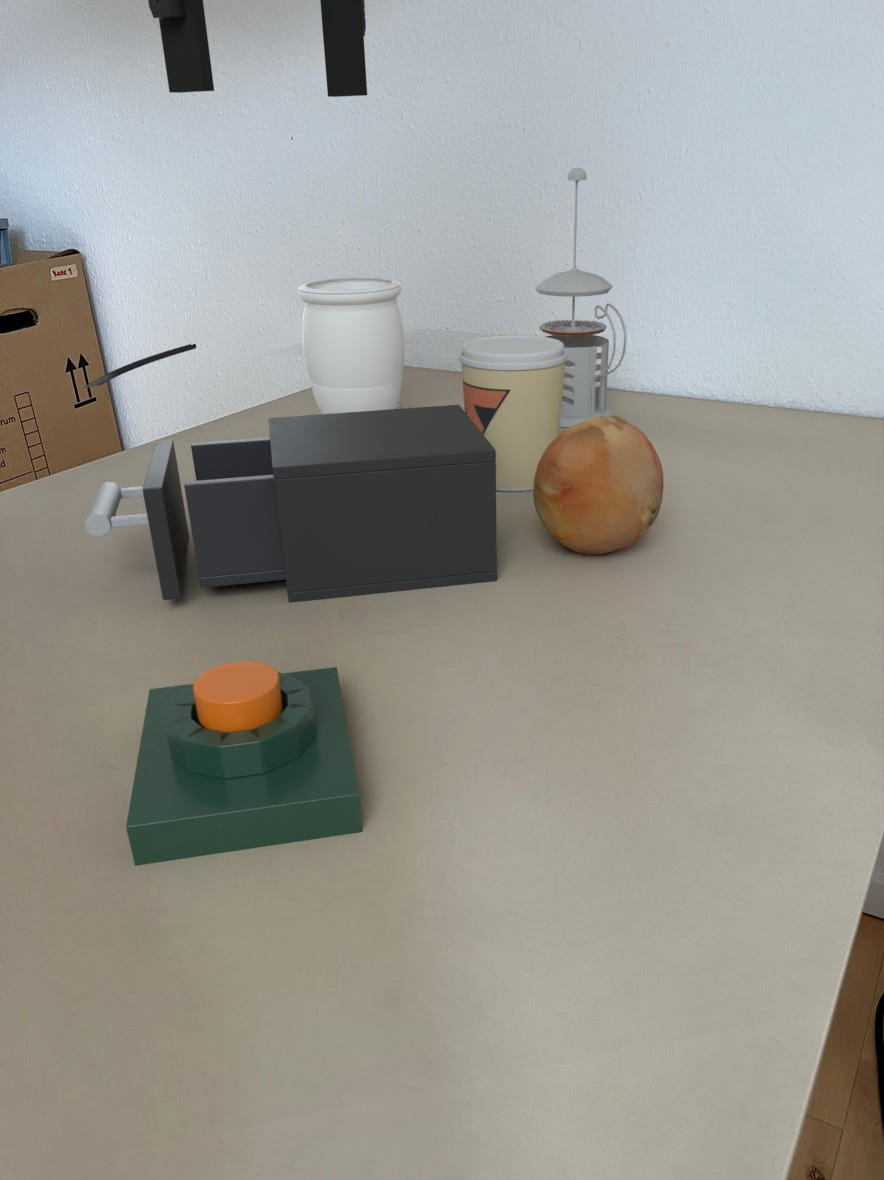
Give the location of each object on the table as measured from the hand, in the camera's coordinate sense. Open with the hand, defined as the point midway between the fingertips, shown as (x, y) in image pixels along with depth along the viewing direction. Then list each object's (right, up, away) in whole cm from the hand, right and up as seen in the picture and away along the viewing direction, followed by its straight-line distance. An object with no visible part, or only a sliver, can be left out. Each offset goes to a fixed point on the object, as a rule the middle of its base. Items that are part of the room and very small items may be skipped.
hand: (276, 95), depth 59 cm
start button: (+1, -36, -12) cm, 38 cm away
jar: (-1, -10, +46) cm, 47 cm away
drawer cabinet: (+5, -27, +14) cm, 31 cm away
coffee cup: (+15, -18, +31) cm, 39 cm away
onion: (+21, -26, +16) cm, 37 cm away
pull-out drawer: (-6, -27, +12) cm, 30 cm away
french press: (+23, -8, +50) cm, 55 cm away
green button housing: (+1, -40, -10) cm, 41 cm away
